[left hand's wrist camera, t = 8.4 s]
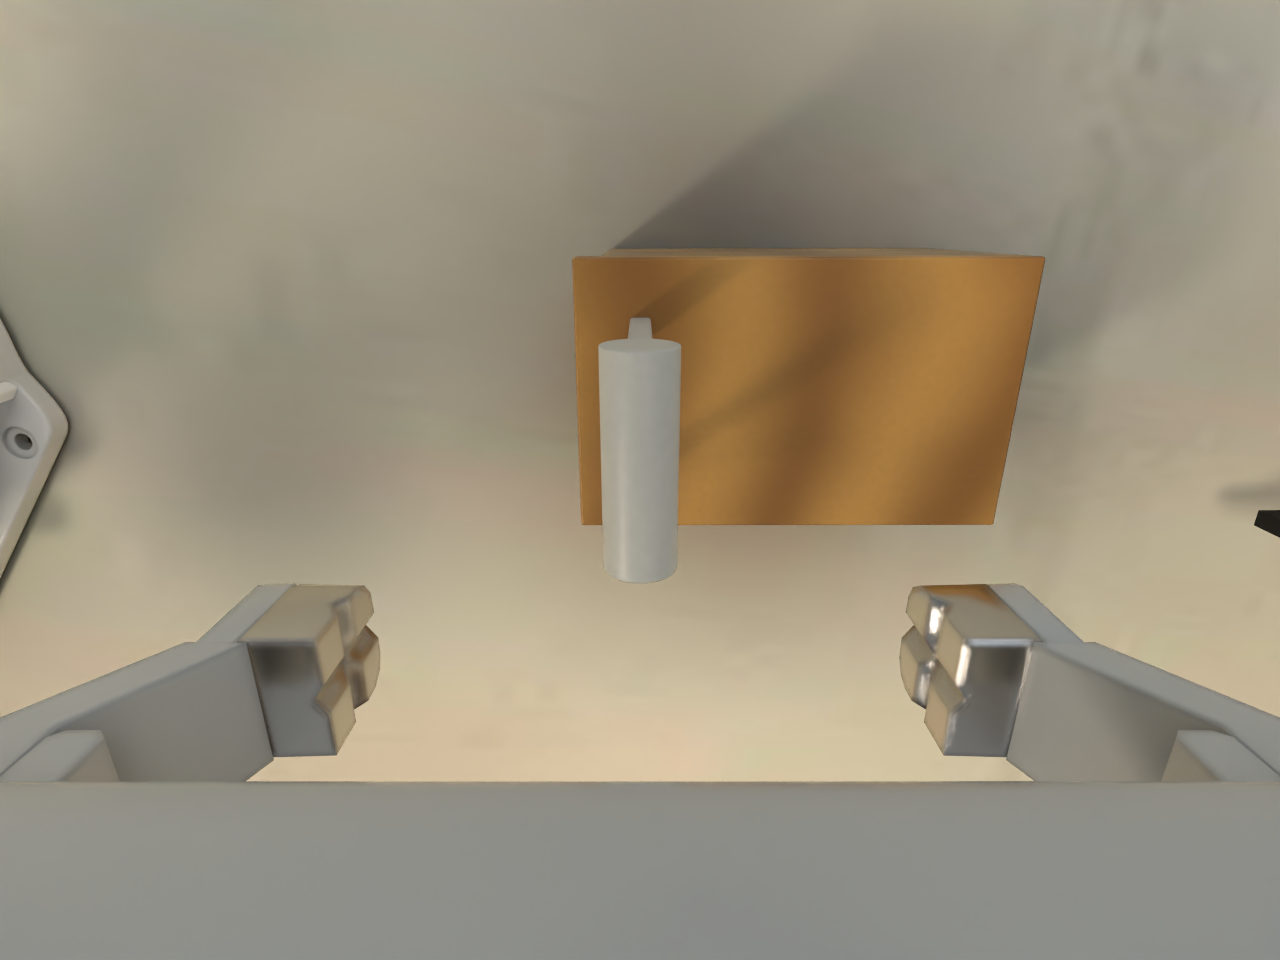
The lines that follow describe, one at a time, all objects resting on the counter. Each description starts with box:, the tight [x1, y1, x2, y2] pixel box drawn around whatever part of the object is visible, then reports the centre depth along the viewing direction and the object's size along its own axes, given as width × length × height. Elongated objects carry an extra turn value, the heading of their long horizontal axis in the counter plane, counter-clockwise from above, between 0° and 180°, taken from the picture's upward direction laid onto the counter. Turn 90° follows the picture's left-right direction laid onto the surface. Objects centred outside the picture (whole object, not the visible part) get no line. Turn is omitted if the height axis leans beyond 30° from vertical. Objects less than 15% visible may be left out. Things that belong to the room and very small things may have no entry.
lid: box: [572, 255, 1045, 583], centre depth 21 cm, size 16×10×9 cm, turn 90°
